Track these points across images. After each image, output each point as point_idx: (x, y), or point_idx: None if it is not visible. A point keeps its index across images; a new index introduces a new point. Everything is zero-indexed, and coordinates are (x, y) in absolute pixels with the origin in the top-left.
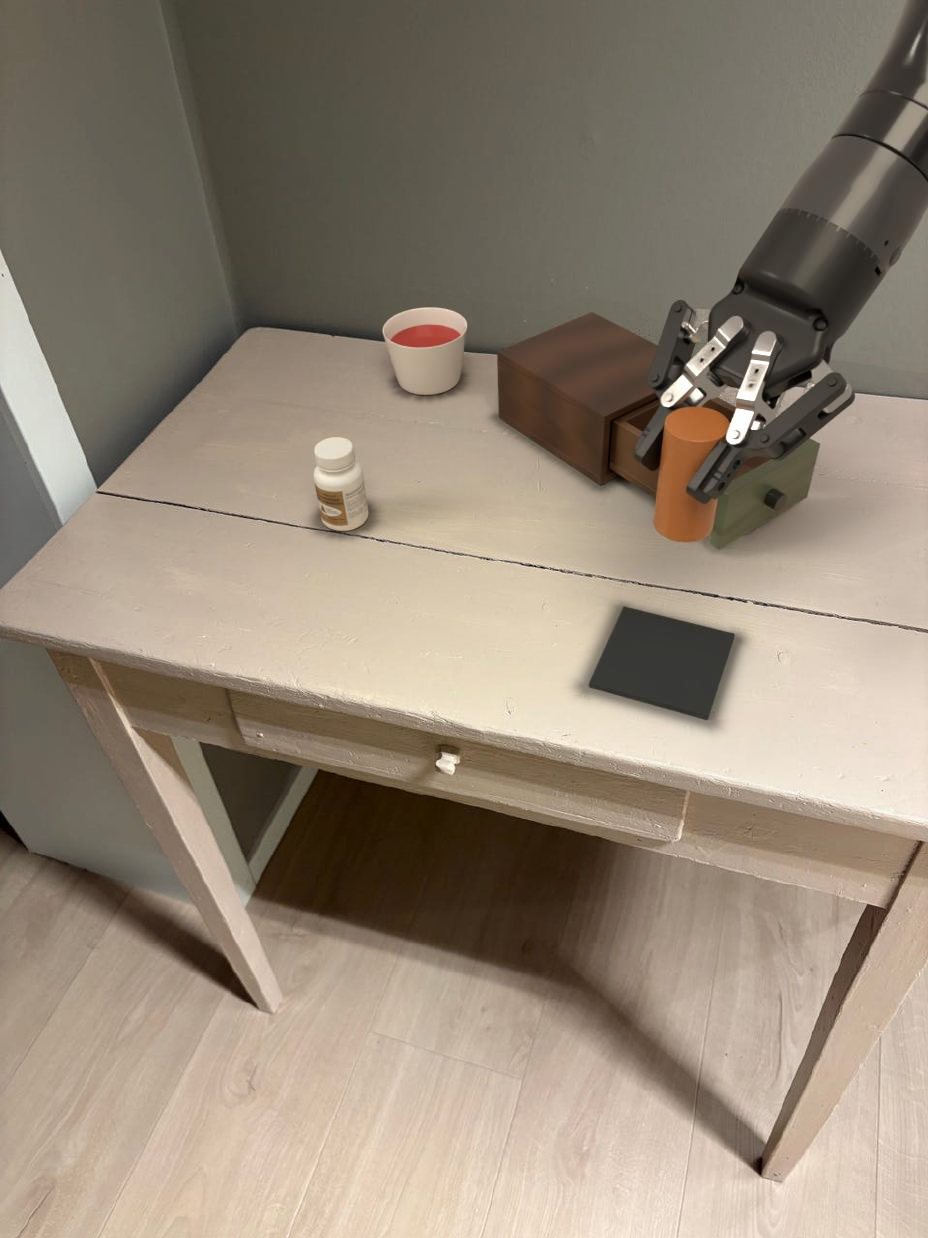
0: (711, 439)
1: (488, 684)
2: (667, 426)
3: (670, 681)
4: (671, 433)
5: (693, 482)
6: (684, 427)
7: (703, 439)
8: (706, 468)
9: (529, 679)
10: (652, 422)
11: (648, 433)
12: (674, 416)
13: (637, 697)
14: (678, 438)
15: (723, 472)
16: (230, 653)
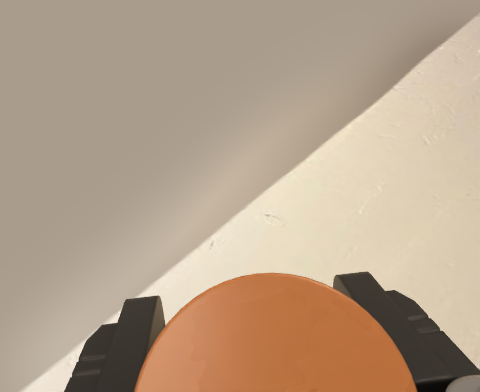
0: (139, 376)
1: (311, 216)
2: (320, 287)
3: None
4: (274, 273)
5: (143, 305)
6: (278, 339)
7: (164, 349)
8: (125, 342)
9: (297, 254)
10: (444, 348)
11: (399, 309)
12: (374, 363)
13: None
14: (237, 279)
15: (72, 381)
16: (449, 60)
